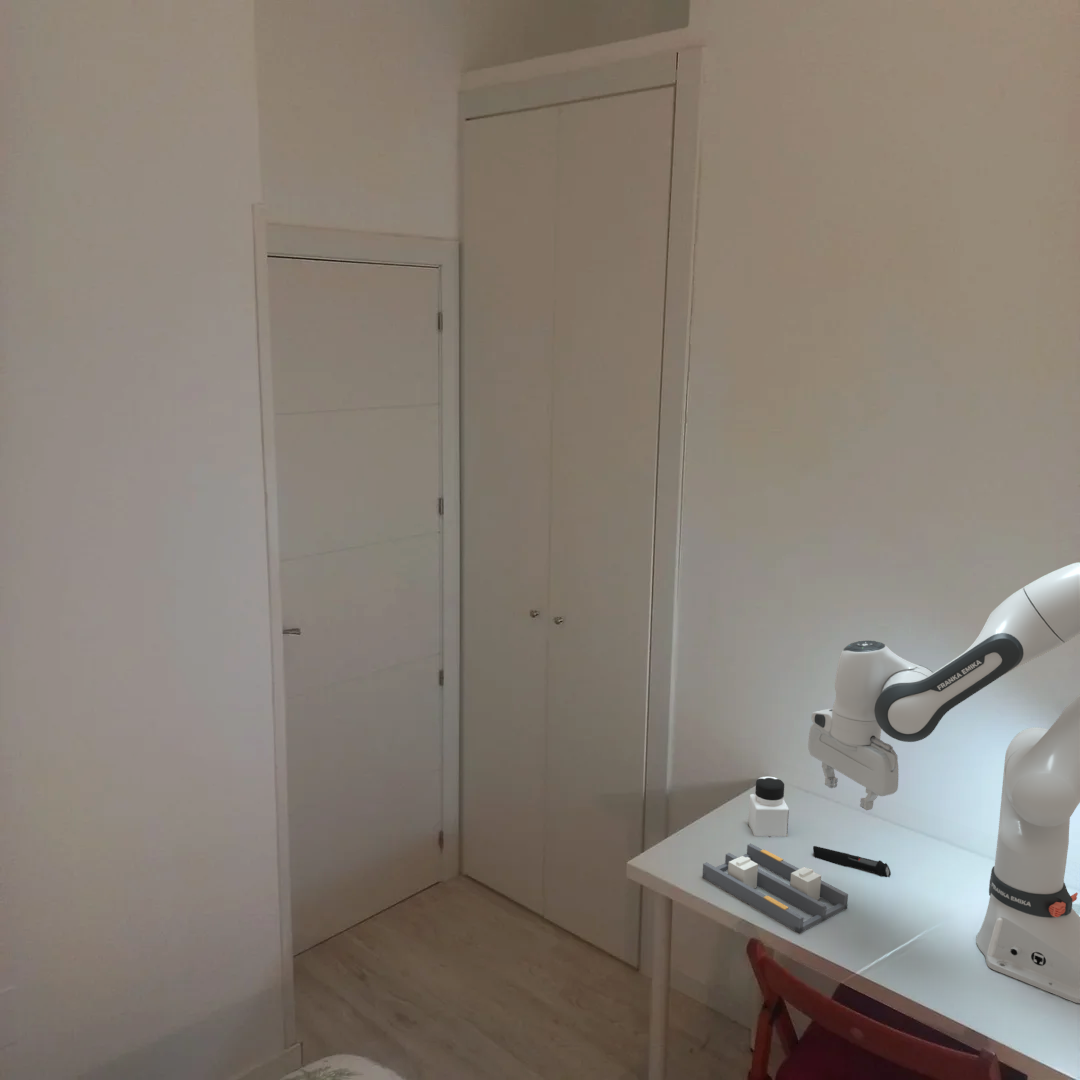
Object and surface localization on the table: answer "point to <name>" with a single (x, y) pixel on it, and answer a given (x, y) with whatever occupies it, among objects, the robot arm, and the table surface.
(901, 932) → the table surface
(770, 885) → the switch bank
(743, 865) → the white boxy block
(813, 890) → the white rectangular block
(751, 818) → the medicine bottle
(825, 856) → the electric trimmer
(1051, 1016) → the table surface
